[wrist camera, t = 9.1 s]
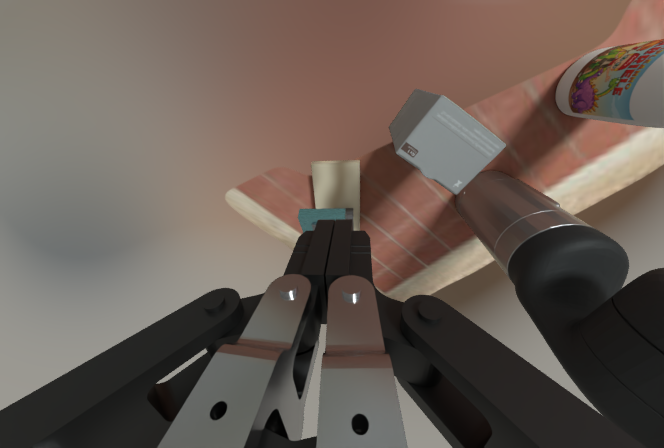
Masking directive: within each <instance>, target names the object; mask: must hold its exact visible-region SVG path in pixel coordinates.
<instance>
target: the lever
mask: <svg viewBox="0 0 664 448" xmlns="http://www.w3.org/2000/svg"><path fill="white" fill-rule="evenodd" d="M298 219H299V222H300V225H301V227H302V230H303V233H304V232H305V231H314V230H315V227H316V224H317V221H318V220H336V219H346V209H345V208H343V209H300V210H299V215H298Z"/></svg>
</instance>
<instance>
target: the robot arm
mask: <svg viewBox="0 0 664 448" xmlns="http://www.w3.org/2000/svg"><path fill="white" fill-rule="evenodd" d="M455 205H456V208H457V211H458V212H459V214H460V215H461V216H462V217H463V219H464V220H465V221H466V223H467V224H468V225H469V227H470V228H471V229H472V231H473V232H474V233H475V234H476V236H477V237H478V238H479V240H480V241H481V242H482V244H483V245H484V246H485V247H486V249H487V250H488V251H489V253H490V254H491V255H492V257H493V258H494V259H495V260H496V262H497V263H498V264H499V265H500V267H501V268H502V269H503V271H504V272H505V273H506V274H507V276H508V277H509V278H510V280H511V281H512V282H513V283H514V285H515V290H516V294H517V297H518V299H519V301H520V302H521V304H522V305H523V307H524V309H525V310H526V311H527V313H528V314H529V316H530V317H531V319H532V321H533V322H534V323H535V325H536V327H537V328H538V330H539V331H540V333H541V334H542V336H543V337H544V339H545V341H546V342H547V344H548V345H549V347H550V348H551V350H552V352H553V353H554V355H555V356H556V357H557V359H558V361H559V362H560V364H561V365H562V366H563V368H564V369H565V371H566V372H567V374H568V375H569V376H570V378H571V379H572V380H573V382H574V383H575V384H576V385H577V387H578V388H579V389H580V391H581V392H582V393H583V394H584V396H585V397H586V398H587V399H588V400H589V401H590V402H591V403H592V404H593V406H594V407H595V408H596V409H597V410H598V411H599V412H600V413H601V414H602V415H603V416H604V417H603V416H602V415H601V414H599V413H598V412H597V411H595V410H594V409H592V408H591V407H589V406H588V405H587V404H585V403H584V402H582V401H581V400H580V399H578V398H577V397H576V396H574V395H573V394H572V393H570V392H569V391H567V390H566V389H565V388H563V387H562V386H560V385H559V384H558V383H556V382H555V381H554V380H552V379H551V378H549V377H548V376H546V375H545V374H544V373H542V372H541V371H540V370H538V369H537V368H536V367H534V366H533V365H531V364H530V363H529V362H527V361H526V360H524V359H523V358H522V357H520V356H519V355H517V354H516V353H515V352H513V351H512V350H511V349H509V348H508V347H506V346H505V345H504V344H502V343H501V342H499V341H498V340H497V339H495V338H494V337H492V336H491V335H490V334H488V333H487V332H486V331H484V330H483V329H481V328H480V327H479V326H477V325H476V324H475V323H473V322H472V321H470V320H469V319H468V318H466V317H465V316H463V315H462V314H461V313H459V312H458V311H456V310H455V309H454V308H452V307H451V306H450V305H448V304H447V303H445V302H444V301H442V300H440V299H438V298H436V297H433V296H429V295H416V296H413V297H410V298H409V299H407V300H406V301H405V302H400V301H397V300H394V299H391V298H388V297H386V296H384V295H383V294H381V293H380V292H379V291H378V290H377V289H376V287H375V286H374V283H373V278H372V263H371V247H370V237H369V236H368V234H367V233H366V232H365V231H353V223H352V219H336V220H318V221H317V224H316V227H315V230H314V231H305V232H304V233H303V234H302V235H301V236H300V237H299V238H298V240H297V243H296V246H295V248H294V250H293V253H292V255H291V258H290V260H289V263H288V265H287V268H286V270H285V273H284V275H283V276H282V277H279V278H277V279H276V280H274V281H273V282H272V283H271V284H270V285H269V287H268V288H267V290H266V292H265V293H263V294H260V295H256V296H251V297H247V298H242V299H240V296H239V294H238V293H237V291H235V290H233V289H230V288H221V289H216V290H213V291H211V292H209V293H207V294H205V295H203V296H201V297H199V298H198V299H196V300H194V301H193V302H191V303H189V304H187V305H185V306H184V307H182V308H180V309H178V310H177V311H175V312H173V313H171V314H170V315H168V316H166V317H165V318H163V319H161V320H159V321H157V322H156V323H154V324H152V325H150V326H149V327H147V328H145V329H143V330H141V331H140V332H138V333H136V334H135V335H133V336H131V337H129V338H127V339H126V340H124V341H122V342H120V343H119V344H117V345H115V346H113V347H112V348H110V349H108V350H106V351H105V352H103V353H101V354H99V355H98V356H96V357H94V358H92V359H91V360H89V361H87V362H85V363H83V364H82V365H80V366H78V367H76V368H75V369H73V370H71V371H69V372H68V373H66V374H64V375H62V376H61V377H59V378H57V379H55V380H54V381H52V382H50V383H48V384H47V385H45V386H43V387H41V388H40V389H38V390H36V391H34V392H32V393H31V394H29V395H27V396H25V397H24V398H22V399H20V400H18V401H17V402H15V403H13V404H11V405H10V406H8V407H6V408H4V409H3V410H1V411H0V448H408V447H407V442H406V437H405V431H404V426H403V421H402V415H401V410H400V405H399V400H398V394H397V389H396V384H395V378H394V376H396V377H397V379H398V382H399V383H400V384H401V386H402V387H403V388H404V390H405V391H406V392H407V393H408V394H409V396H410V397H411V398H412V399H413V400H414V402H415V403H416V404H417V405H418V406H419V407H420V409H421V410H422V411H423V412H424V413H425V415H426V416H427V417H428V418H429V419H430V421H431V422H432V423H433V424H434V426H435V427H436V428H437V429H438V430H439V432H440V433H441V434H442V435H443V436H444V438H445V439H446V440H447V441H448V442H449V444H450V445H451V446H452V447H453V448H664V268H659V269H655V270H651V271H649V272H647V273H645V274H643V275H641V276H639V277H638V278H636V279H635V280H633V281H632V282H630V283H629V284H627V285H626V286H625V287H623V288H622V286H623V284H624V282H625V279H626V276H627V274H628V269H629V260H628V257H627V254H626V252H625V251H624V249H623V248H622V247H621V246H620V245H619V244H618V243H617V242H616V241H614V240H613V239H611V238H610V237H608V236H606V235H605V234H603V233H601V232H600V231H598V230H596V229H594V228H593V227H591V226H590V225H588V224H586V223H585V222H583V221H581V220H580V219H578V218H576V217H575V216H573V215H571V214H570V213H568V212H567V211H565V210H563V209H562V208H560V205H559V203H558V202H556V201H554V200H553V199H551V198H549V197H548V196H546V195H544V194H543V193H541V192H539V191H538V190H536V189H534V188H533V187H531V186H529V185H528V184H526V183H524V182H522V181H521V180H519V179H513V178H512V177H510V176H508V175H507V174H505V173H503V172H499V171H485V172H481V173H478V174H477V175H476V176H475V177H474V178H473V179H472V180H471V181H470V182H469V183H468V184H467V185H466V186H465V187H464V188H463V189H462V190H461V191H460V192H459V193H458V194H457V195H456V199H455ZM621 288H622V289H621ZM321 324H327V330H326V331H327V332H326V348H325V353H323V358H322V366H321V367H322V368H321V382H320V397H319V414H318V429H317V436H316V437H311V438H307V439H303V440H301V436H302V429H303V421H304V407H305V401H306V397H307V392H308V388H309V384H310V380H311V376H312V371H313V367H314V363H315V359H316V355H317V351H318V346H319V333H320V327H321ZM205 348H206V350H207V351H208V352H207V353H206V354H205V355H203V356H202V357H200V358H199V359H197V360H196V361H195V362H193V363H192V364H190V365H189V366H188V367H186V368H185V369H183V370H182V371H181V372H179V373H178V374H176V375H175V376H174V377H172V378H171V379H170V380H168V381H166V382H164V383H160V384H156V383H157V382H158V381H159V380H161V379H162V378H164V377H165V376H167V375H168V374H169V373H171V372H172V371H174V370H175V369H176V368H178V367H179V366H181V365H182V364H184V363H185V362H186V361H188V360H189V359H191V358H192V357H194V356H195V355H196V354H198V353H199V352H200V351H202V350H204V349H205Z"/></svg>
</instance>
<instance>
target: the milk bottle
mask: <svg viewBox="0 0 664 448" xmlns="http://www.w3.org/2000/svg"><path fill="white" fill-rule="evenodd" d="M555 95H556V97H555V100H556V104H557V106H558V108H559V109H560V110H561V111H562V112H563V113H564V114H566V115H569V116H574V117H580V118H587V119H593V120H600V121H607V122H614V123H621V124H629V125H636V126H645V127H655V128H664V39H662V40H655V41H648V42H641V43H634V44H628V45H621V46H615V47H608V48H603V49H599V50H595V51H593V52H590V53H588V54H586V55H585V56H583V57H582V58H580V59H579V60H577V61H576V62H575V63H574V64H573V65H572V66H571V67H570V68H568V70H567V71H566V72H565V73H564V75H563V76H562V78H561V80H560V81H559V84H558V86H557V89H556V93H555Z"/></svg>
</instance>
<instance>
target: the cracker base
mask: <svg viewBox="0 0 664 448" xmlns="http://www.w3.org/2000/svg"><path fill="white" fill-rule="evenodd" d="M311 168H312V178H313V187H314V196H315V206H316V209H343V208H345V209H346V219H352V223H353V231H360V160H345V161H344V160H343V161H314V162H312V163H311Z"/></svg>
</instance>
